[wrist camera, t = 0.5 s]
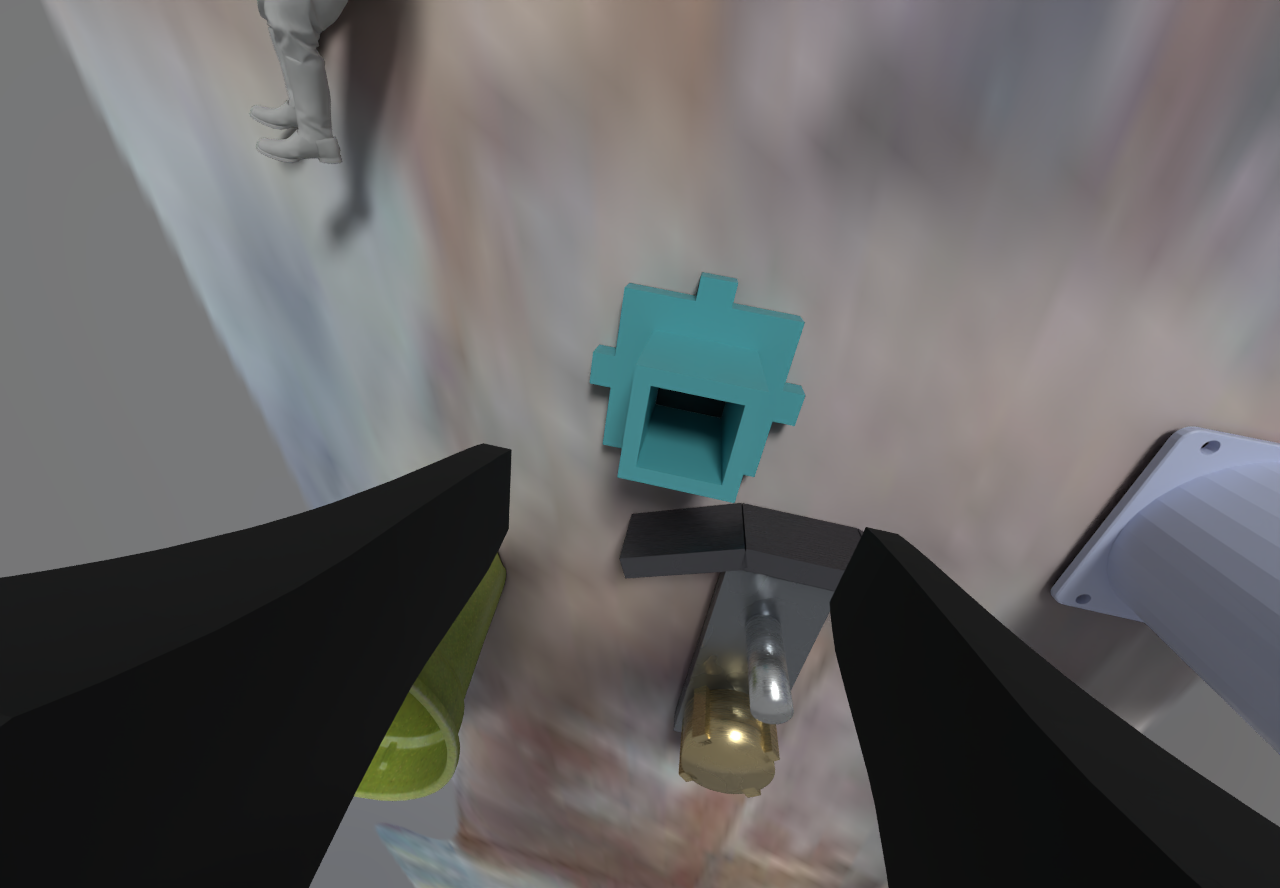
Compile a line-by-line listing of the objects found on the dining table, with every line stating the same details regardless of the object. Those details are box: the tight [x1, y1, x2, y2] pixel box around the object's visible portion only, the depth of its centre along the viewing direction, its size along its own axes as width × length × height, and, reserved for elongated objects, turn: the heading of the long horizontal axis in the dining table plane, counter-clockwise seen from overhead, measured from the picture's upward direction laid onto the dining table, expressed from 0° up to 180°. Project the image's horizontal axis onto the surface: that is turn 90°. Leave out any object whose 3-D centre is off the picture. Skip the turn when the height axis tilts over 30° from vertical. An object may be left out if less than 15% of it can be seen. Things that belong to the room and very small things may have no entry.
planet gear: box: [590, 272, 805, 503], centre depth 16 cm, size 8×8×5 cm
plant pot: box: [354, 553, 506, 801], centre depth 20 cm, size 9×9×9 cm
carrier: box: [620, 503, 863, 798], centre depth 21 cm, size 14×15×5 cm
